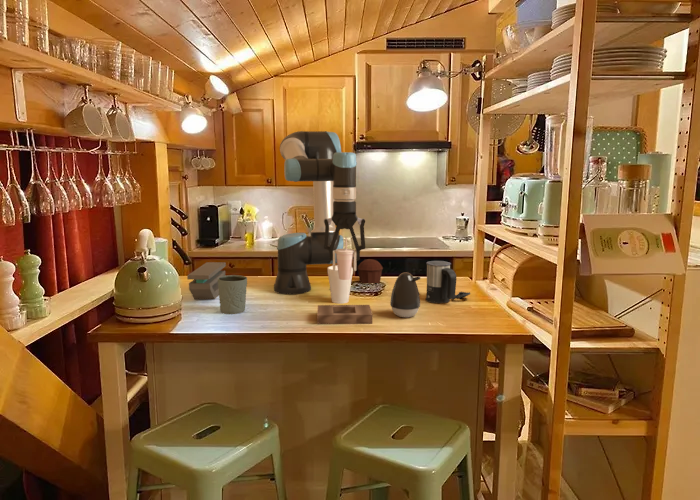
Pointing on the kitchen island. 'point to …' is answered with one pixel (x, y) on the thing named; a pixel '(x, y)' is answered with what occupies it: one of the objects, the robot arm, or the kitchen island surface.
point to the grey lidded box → (206, 280)
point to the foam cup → (339, 286)
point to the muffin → (370, 271)
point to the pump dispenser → (405, 296)
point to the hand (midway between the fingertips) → (344, 269)
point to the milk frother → (441, 283)
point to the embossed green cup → (232, 293)
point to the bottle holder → (344, 314)
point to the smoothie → (344, 261)
